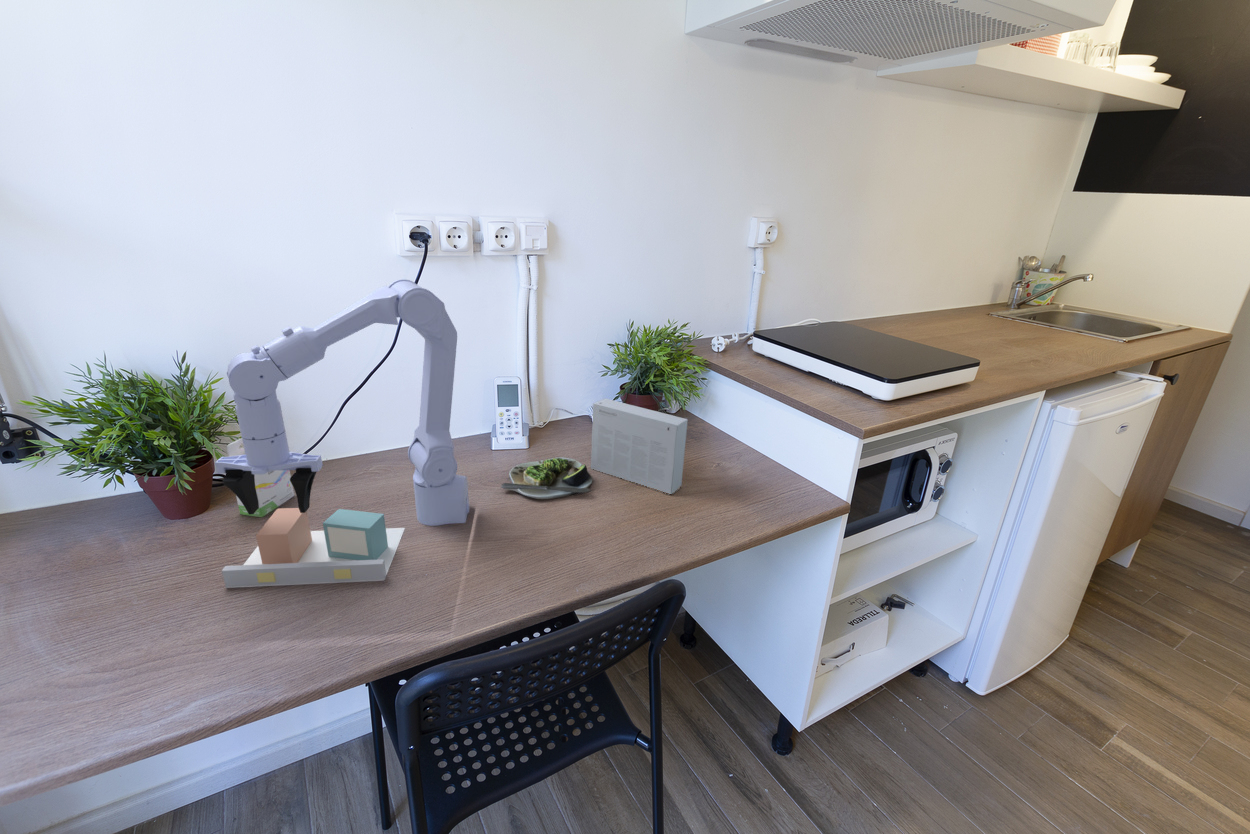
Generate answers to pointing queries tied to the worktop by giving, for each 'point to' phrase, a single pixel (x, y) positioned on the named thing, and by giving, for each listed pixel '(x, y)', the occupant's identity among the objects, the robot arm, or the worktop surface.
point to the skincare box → (638, 444)
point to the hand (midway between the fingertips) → (279, 510)
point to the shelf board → (313, 566)
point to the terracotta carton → (284, 537)
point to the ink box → (265, 486)
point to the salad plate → (550, 478)
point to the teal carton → (355, 535)
